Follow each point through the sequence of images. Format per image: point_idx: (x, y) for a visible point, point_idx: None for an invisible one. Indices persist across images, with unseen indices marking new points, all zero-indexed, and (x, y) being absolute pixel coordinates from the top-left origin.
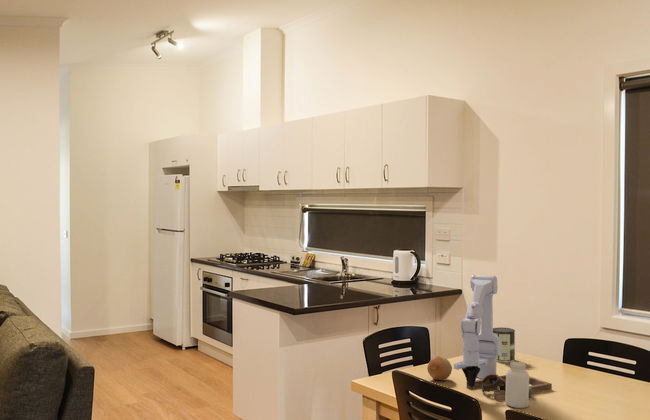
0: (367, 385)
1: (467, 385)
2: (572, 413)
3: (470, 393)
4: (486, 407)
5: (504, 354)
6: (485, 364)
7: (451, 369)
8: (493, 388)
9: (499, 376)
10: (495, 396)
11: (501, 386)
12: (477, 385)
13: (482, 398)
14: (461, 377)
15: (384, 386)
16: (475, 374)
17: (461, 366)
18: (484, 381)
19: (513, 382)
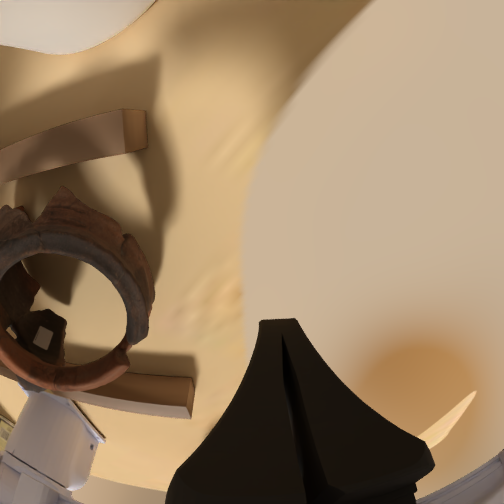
0: (448, 429)
1: (192, 398)
2: None
3: (237, 324)
4: (350, 18)
5: (6, 437)
6: (42, 496)
7: None
8: (87, 218)
9: (15, 378)
10: (136, 128)
11: (19, 289)
12: (132, 381)
13: (227, 199)
14: (149, 446)
15: (434, 427)
16: (273, 425)
17: (469, 495)
18: (104, 359)
19: None
